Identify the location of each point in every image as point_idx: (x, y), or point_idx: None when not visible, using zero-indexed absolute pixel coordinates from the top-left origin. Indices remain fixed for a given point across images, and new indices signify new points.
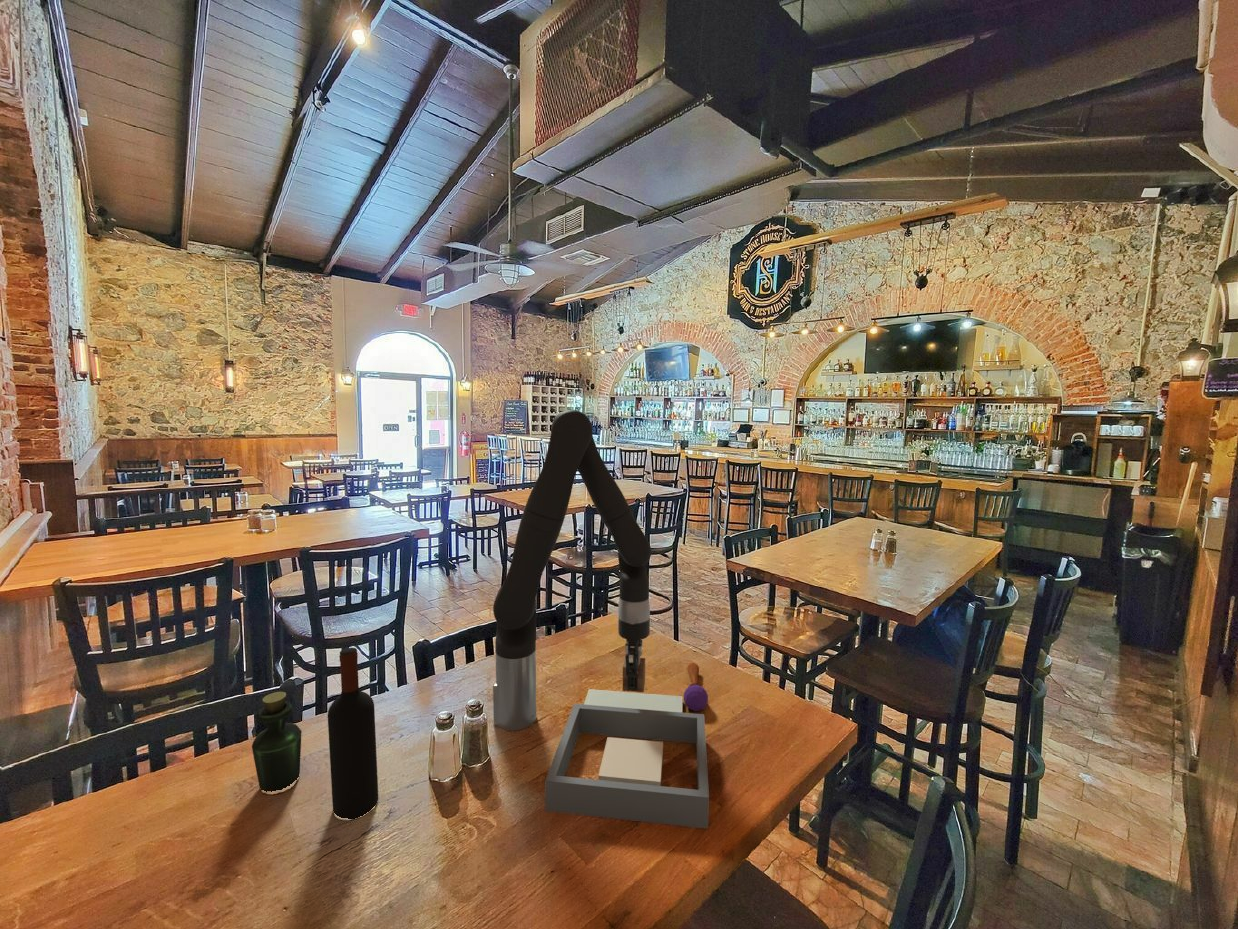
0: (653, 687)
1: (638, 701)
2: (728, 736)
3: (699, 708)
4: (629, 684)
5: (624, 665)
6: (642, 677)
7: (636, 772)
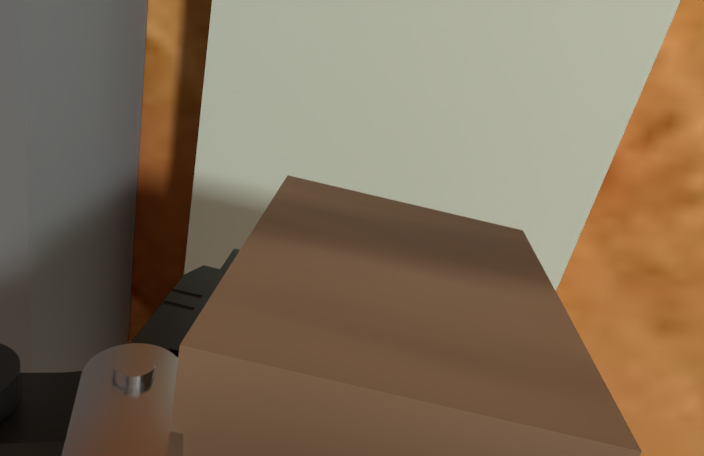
0: (671, 374)
1: None
2: None
3: None
4: (170, 293)
5: (241, 387)
6: None
7: None
